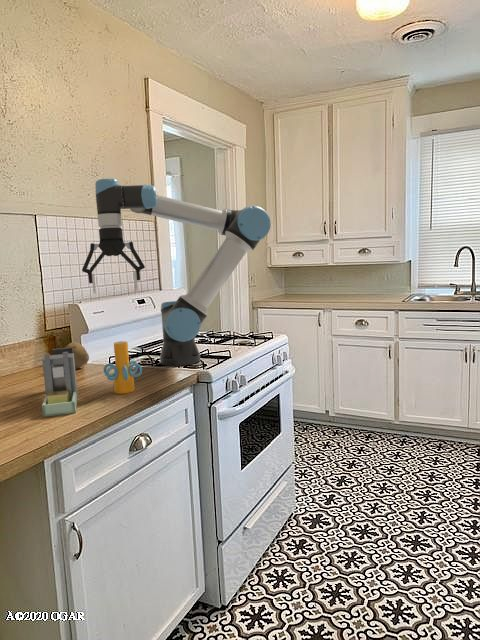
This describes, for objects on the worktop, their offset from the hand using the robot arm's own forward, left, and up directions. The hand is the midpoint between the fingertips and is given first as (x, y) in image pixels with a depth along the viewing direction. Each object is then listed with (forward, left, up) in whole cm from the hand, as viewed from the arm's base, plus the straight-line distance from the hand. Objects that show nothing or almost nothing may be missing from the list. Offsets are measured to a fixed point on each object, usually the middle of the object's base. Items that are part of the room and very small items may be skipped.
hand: (115, 292), depth 165 cm
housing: (+18, +26, -29) cm, 42 cm away
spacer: (+18, +32, -28) cm, 47 cm away
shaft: (+18, +18, -22) cm, 34 cm away
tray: (+18, +32, -29) cm, 47 cm away
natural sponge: (+16, -20, -29) cm, 39 cm away
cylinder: (+1, +22, -29) cm, 36 cm away
